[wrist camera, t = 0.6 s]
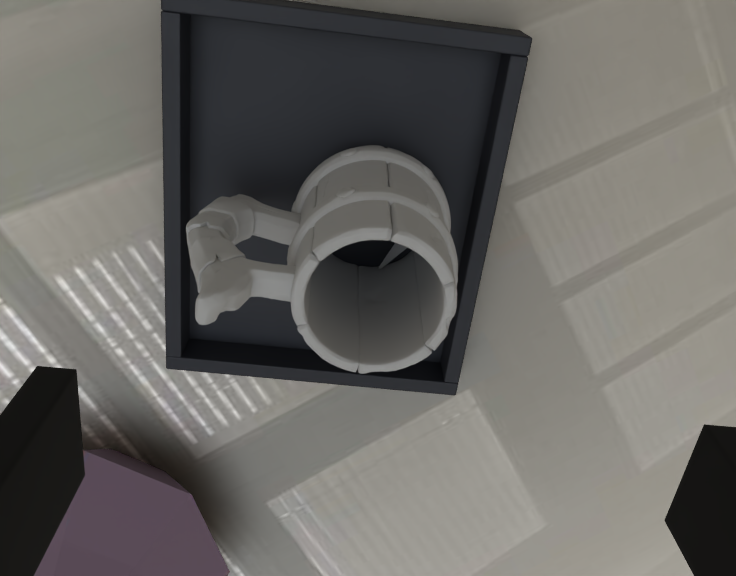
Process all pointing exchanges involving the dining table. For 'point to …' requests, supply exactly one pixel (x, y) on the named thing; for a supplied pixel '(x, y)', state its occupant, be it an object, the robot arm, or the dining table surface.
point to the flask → (131, 525)
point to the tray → (324, 154)
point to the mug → (330, 274)
